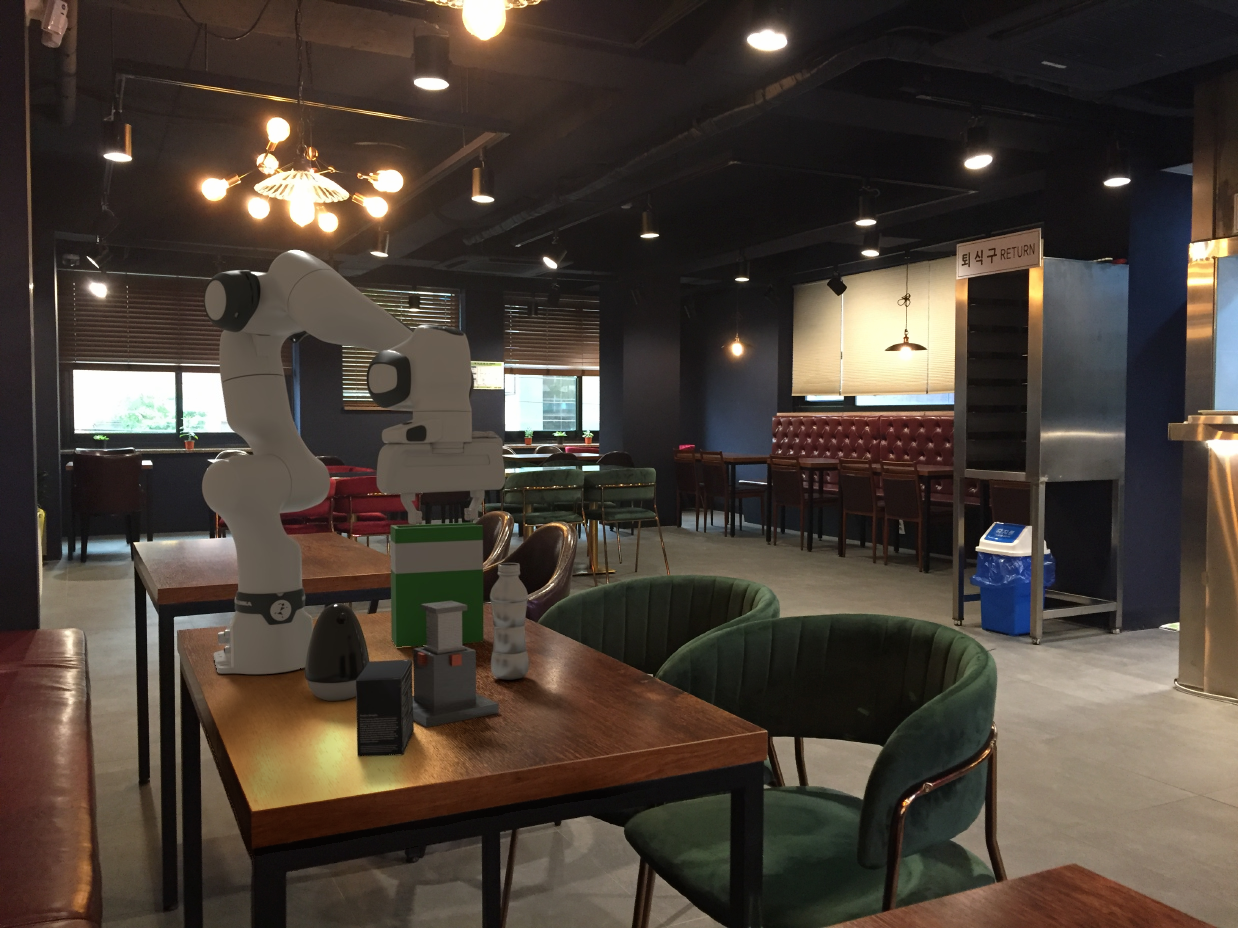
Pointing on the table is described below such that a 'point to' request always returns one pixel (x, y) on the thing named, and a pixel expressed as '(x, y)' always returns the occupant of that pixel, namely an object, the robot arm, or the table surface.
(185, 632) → the table surface
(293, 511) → the robot arm
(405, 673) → the small box
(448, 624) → the column
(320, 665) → the pump dispenser
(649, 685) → the table surface
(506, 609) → the plastic bottle
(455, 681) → the stand
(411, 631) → the hardback book
